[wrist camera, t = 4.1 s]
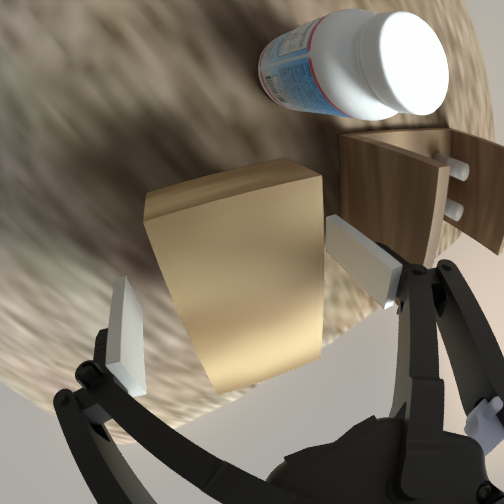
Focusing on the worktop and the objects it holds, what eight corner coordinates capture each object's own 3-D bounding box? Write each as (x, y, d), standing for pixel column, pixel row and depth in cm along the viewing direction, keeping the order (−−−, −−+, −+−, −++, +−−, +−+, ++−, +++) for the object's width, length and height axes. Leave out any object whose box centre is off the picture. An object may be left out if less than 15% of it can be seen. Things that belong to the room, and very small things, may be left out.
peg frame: (339, 250, 26) (408, 316, 18) (338, 134, 20) (438, 167, 12) (441, 213, 29) (501, 252, 21) (450, 128, 23) (523, 154, 15)
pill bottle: (334, 109, 19) (457, 135, 10) (260, 113, 18) (368, 133, 8) (328, 37, 16) (451, 19, 6) (250, 33, 14) (352, -22, 5)
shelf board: (298, 323, 20) (320, 358, 17) (206, 355, 19) (218, 395, 16) (285, 157, 14) (322, 175, 11) (146, 193, 12) (143, 222, 9)
